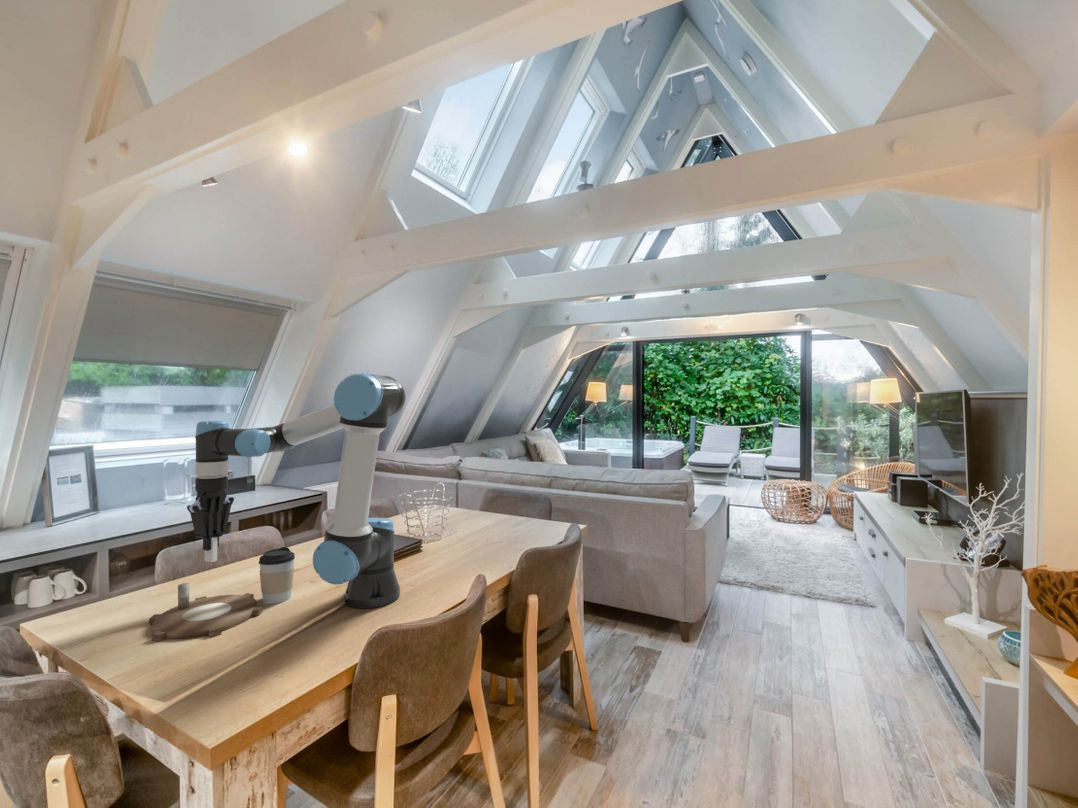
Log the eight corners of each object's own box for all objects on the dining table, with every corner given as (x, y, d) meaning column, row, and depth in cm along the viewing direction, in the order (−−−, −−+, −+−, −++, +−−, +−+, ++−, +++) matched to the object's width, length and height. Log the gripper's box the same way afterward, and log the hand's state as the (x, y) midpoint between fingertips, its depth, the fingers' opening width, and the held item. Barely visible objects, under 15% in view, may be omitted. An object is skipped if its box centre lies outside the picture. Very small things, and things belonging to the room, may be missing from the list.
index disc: (282, 604, 132) (282, 577, 132) (190, 648, 108) (190, 615, 108) (220, 593, 139) (220, 567, 139) (121, 633, 115) (121, 602, 115)
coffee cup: (279, 612, 130) (279, 556, 130) (250, 609, 132) (250, 554, 132) (302, 598, 139) (302, 546, 139) (275, 595, 141) (275, 544, 141)
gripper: (221, 472, 141) (220, 552, 141) (178, 479, 128) (177, 567, 128) (242, 473, 139) (241, 554, 139) (201, 480, 126) (200, 570, 127)
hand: (210, 560), depth 134 cm, fingers closed
